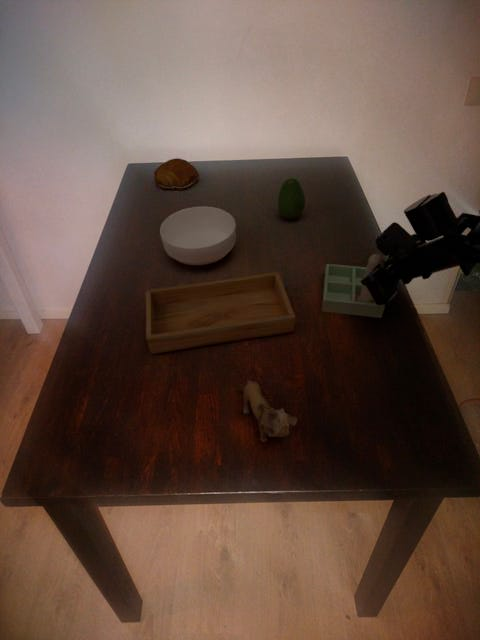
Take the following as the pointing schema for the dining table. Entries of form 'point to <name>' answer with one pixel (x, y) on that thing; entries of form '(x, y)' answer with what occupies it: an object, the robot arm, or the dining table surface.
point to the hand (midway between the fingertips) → (365, 278)
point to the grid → (347, 292)
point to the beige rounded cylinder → (372, 263)
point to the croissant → (175, 174)
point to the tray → (217, 312)
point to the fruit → (291, 199)
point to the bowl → (198, 235)
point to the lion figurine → (266, 413)
